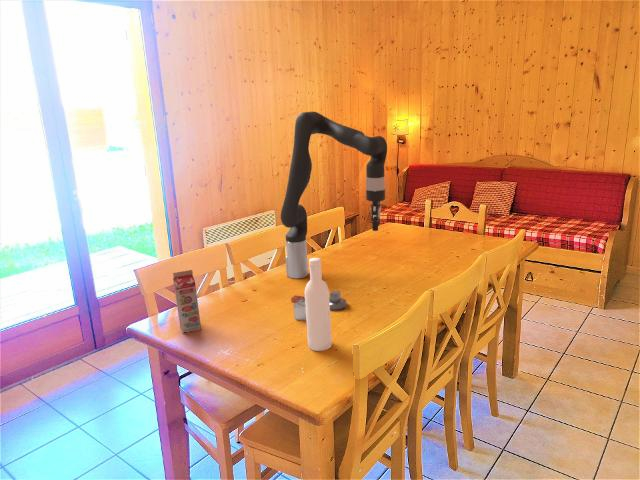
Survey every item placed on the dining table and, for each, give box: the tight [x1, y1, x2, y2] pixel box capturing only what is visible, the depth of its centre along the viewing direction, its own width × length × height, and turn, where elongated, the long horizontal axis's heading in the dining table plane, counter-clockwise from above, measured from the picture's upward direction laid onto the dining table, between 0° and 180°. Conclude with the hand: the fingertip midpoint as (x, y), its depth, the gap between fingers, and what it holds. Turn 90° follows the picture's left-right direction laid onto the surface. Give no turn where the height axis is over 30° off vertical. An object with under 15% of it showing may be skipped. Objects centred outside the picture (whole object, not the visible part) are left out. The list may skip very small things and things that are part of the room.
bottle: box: [304, 257, 333, 352], centre depth 157 cm, size 8×8×30 cm
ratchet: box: [290, 290, 348, 312], centre depth 194 cm, size 23×8×6 cm, turn 64°
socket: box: [293, 299, 307, 322], centre depth 182 cm, size 6×6×6 cm
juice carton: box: [172, 269, 202, 334], centre depth 177 cm, size 7×7×22 cm
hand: (376, 227), depth 197 cm, fingers open, 8 cm apart
